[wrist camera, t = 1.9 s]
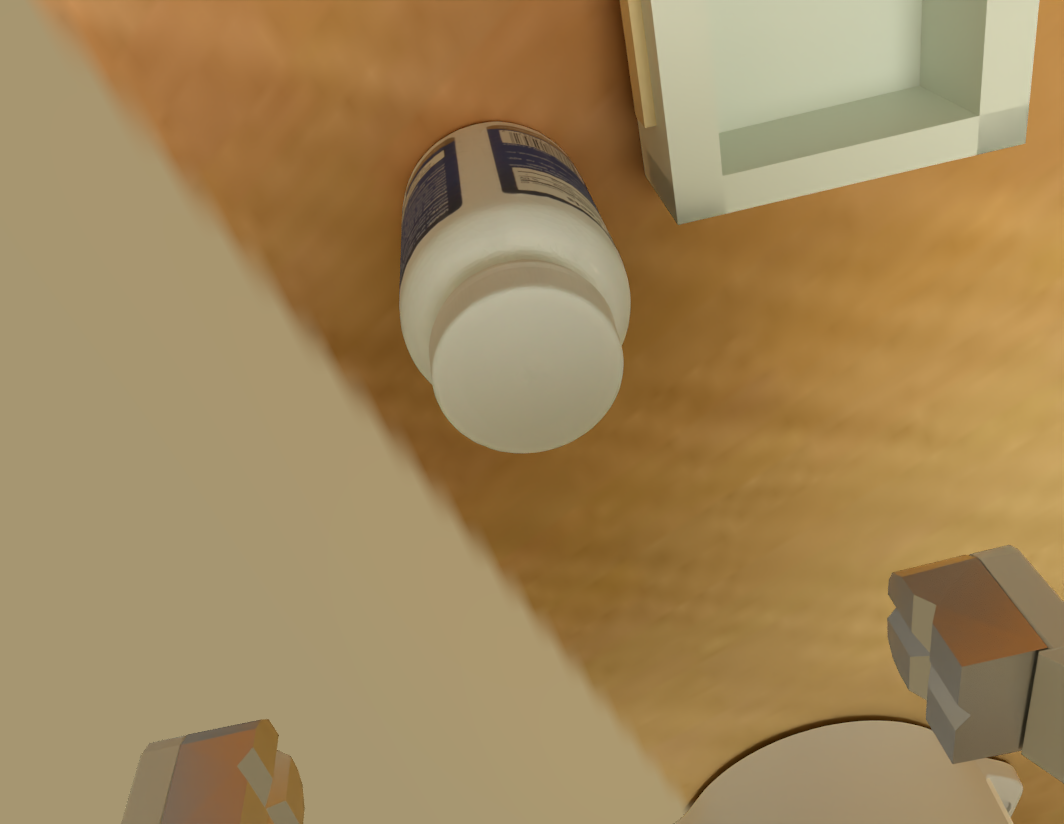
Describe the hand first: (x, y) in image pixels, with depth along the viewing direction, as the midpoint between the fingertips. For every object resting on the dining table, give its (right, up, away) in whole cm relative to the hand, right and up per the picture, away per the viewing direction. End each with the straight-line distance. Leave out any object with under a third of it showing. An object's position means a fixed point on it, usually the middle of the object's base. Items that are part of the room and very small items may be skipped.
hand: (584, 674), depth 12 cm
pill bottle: (-2, +9, +15) cm, 18 cm away
